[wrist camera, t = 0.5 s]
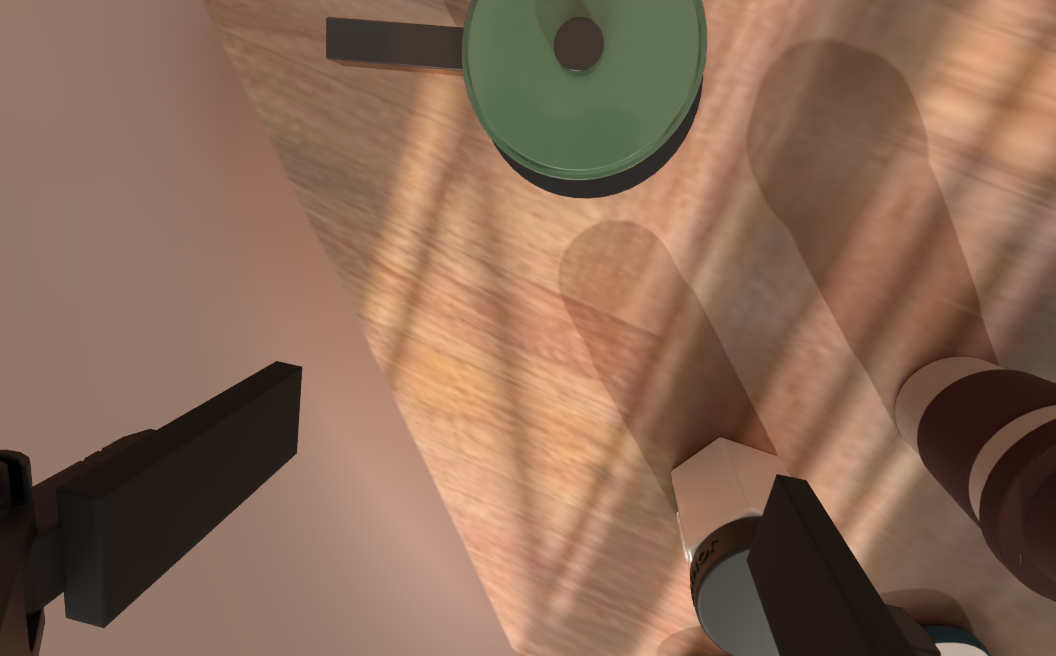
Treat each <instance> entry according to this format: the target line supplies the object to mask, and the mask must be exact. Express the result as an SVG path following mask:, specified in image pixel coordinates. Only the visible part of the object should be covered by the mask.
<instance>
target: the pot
mask: <svg viewBox="0 0 1056 656" xmlns="http://www.w3.org/2000/svg"><path fill="white" fill-rule="evenodd" d="M706 52H707V26H706V19H705V12H704V7H703V4H702V0H472V1H471V3H470V6H469V9H468V12H467V16H466V21H465V25H464V28H461V27H448V26H435V25H423V24H410V23H397V22H385V21H372V20H360V19H347V18H334V17H327V18H326V58H327V59H328V60H331V61H333V62H336V63H338V64H341V65H343V66H352V67H363V68H374V69H386V70H397V71H408V72H420V73H431V74H442V75H454V76H464V81H465V86H466V90H467V94H468V97H469V99H470V102H471V105H472V108H473V110H474V112H475V114H476V116H477V118H478V120H479V122H480V124H481V125H482V126H483V128H484V129H485V131H486V132H487V134H488V135H489V137H490V138H491V139H492V140H493V141H494V142H495V143H496V144H497V146H498V147H499V148H500V149H501V150H503V151H504V152H505V153H506V154H507V155H508V156H510V157H511V158H512V159H514V160H515V161H517V162H518V163H520V164H521V165H523V166H525V167H527V168H529V169H531V170H533V171H535V172H537V173H540V174H543V175H547V176H550V177H554V178H560V179H565V180H589V179H598V178H602V177H606V176H611V175H614V174H616V173H619V172H622V171H624V170H627V169H629V168H631V167H632V166H634V165H636V164H638V163H640V162H642V161H643V160H644V159H646V158H647V157H649V156H650V155H651V154H653V153H654V152H655V151H656V150H657V149H659V148H660V147H661V146H662V145H663V144H664V143H665V142H666V141H667V140H668V139H669V138H670V137H671V135H672V134H673V133H674V132H675V131H676V130H677V128H678V127H679V125H680V124H681V122H682V121H683V119H684V118H685V116H686V115H687V113H688V111H689V109H690V107H691V105H692V103H693V101H694V99H695V97H696V94H697V92H698V89H699V86H700V83H701V80H702V76H703V71H704V67H705V61H706Z"/></svg>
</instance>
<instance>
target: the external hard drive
mask: <svg viewBox="0 0 1056 656" xmlns="http://www.w3.org/2000/svg"><path fill="white" fill-rule="evenodd" d="M923 628H924V629H925V630H926V632H927V633H928V634H929V636H930V637H931V639H932V640H933V642H934V643H935V645H936V646H937V648H938V649H939V651H940V652H941V656H991V655H990V654H989V652H988V651H987V649H986V648H985V646H984V645H983V644H982V643H981V642H980V641H979V640H978V639H977V638H976V637H975V636H974V635H972V634H971V633H969V632H967V631H965V630H962V629H959V628H955V627H950V626H926V627H923Z"/></svg>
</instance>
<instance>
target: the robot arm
mask: <svg viewBox="0 0 1056 656" xmlns="http://www.w3.org/2000/svg"><path fill="white" fill-rule="evenodd" d="M301 380H302V367H301V366H296V365H292V364H287V363H283V362H278V361H276V362H274V363H272V364H271V365H269V366H267V367H266V368H264V369H262V370H260V371H259V372H257V373H255V374H254V375H252V376H250V377H248V378H246V379H245V380H243V381H241V382H239V383H238V384H236V385H234V386H233V387H231V388H229V389H228V390H226V391H224V392H222V393H220V394H219V395H217V396H215V397H213V398H212V399H210V400H209V401H207V402H205V403H203V404H201V405H200V406H198V407H196V408H194V409H193V410H191V411H189V412H187V413H186V414H184V415H182V416H180V417H179V418H177V419H175V420H174V421H172V422H170V423H168V424H167V425H165V426H163V427H161V428H160V429H158V430H153V429H148V430H144V431H141V432H138V433H135V434H131V435H128V436H125V437H122V438H121V439H119V440H117V441H115V442H113V443H111V444H110V445H108V446H106V447H104V448H102V451H101V452H100V451H97V452H95V453H93V454H91V455H90V456H88V457H86V458H85V459H84V461H79V462H77V463H75V464H73V465H71V466H70V467H68V468H66V469H64V470H62V471H61V472H59V473H57V474H55V475H53V476H52V477H50V478H48V479H46V480H44V481H42V482H41V483H39V484H37V485H35V486H33V487H32V476H31V465H30V460H29V457H28V456H26V455H24V454H23V453H21V452H16V451H10V450H0V656H39V651H40V646H41V640H42V636H43V630H44V625H45V616H44V606H45V605H47V604H48V603H49V602H51V601H52V600H54V599H55V598H56V597H57V596H58V595H60V594H61V593H63V592H64V600H65V611H66V618H69V619H72V620H76V621H80V622H83V623H87V624H91V625H94V626H98V627H102V628H105V627H106V626H107V625H108V624H109V623H110V622H111V621H112V620H114V619H115V618H116V617H117V616H118V615H119V614H120V613H121V612H122V611H124V610H125V609H126V608H127V607H128V606H129V605H130V604H131V603H132V602H133V601H135V599H137V598H138V597H139V596H140V595H141V594H142V593H143V592H144V591H145V590H146V589H148V588H149V587H150V586H151V585H152V584H153V583H154V582H156V581H157V580H158V579H159V578H160V577H161V576H162V575H163V574H164V573H165V572H167V571H168V570H169V569H170V568H171V567H172V566H173V565H174V564H175V563H176V562H177V561H179V560H180V559H181V558H182V557H183V556H184V555H185V554H186V553H187V552H188V551H190V550H191V549H192V548H193V547H194V546H195V545H196V544H197V543H198V542H200V541H201V540H202V539H203V538H204V537H205V536H206V535H207V534H208V533H209V532H211V531H212V530H213V529H214V528H215V527H216V526H217V525H218V524H219V523H220V522H222V521H223V520H224V519H225V518H226V517H227V516H228V515H229V514H230V513H232V512H233V511H234V510H235V509H236V508H237V507H238V506H239V505H240V504H241V503H243V502H244V501H245V500H246V499H247V498H248V497H249V496H250V495H251V494H252V493H253V492H255V491H256V490H257V489H258V488H259V487H260V486H261V485H262V484H263V483H265V482H266V481H267V480H268V479H269V478H270V477H271V476H272V475H273V474H274V473H275V472H277V471H278V470H279V469H280V468H281V467H282V466H283V465H284V464H285V463H287V462H288V461H289V460H290V459H291V458H292V457H293V456H294V455H295V454H297V443H298V426H299V410H300V395H301ZM746 561H747V564H748V567H749V570H750V573H751V575H752V578H753V581H754V584H755V587H756V590H757V593H758V596H759V598H760V601H761V604H762V607H763V610H764V613H765V616H766V618H767V621H768V624H769V627H770V630H771V633H772V636H773V639H774V641H775V644H776V647H777V650H778V653H779V656H941V652H940V651H939V649H938V648H937V646H936V645H935V643H934V642H933V640H932V639H931V637H930V636H929V634H928V633H927V632H926V630H925V629H924V628H923V627H922V626H921V625H920V624H918V623H917V622H916V621H915V620H914V619H913V618H912V617H911V616H910V615H909V614H908V613H907V612H906V611H904V610H903V609H902V608H900V607H896V606H891V605H887V604H884V602H883V601H882V599H881V597H880V596H879V594H878V593H877V591H876V590H875V588H874V586H873V585H872V583H871V582H870V580H869V579H868V577H867V575H866V574H865V572H864V571H863V569H862V567H861V566H860V564H859V563H858V561H857V560H856V558H855V556H854V555H853V553H852V552H851V550H850V548H849V547H848V545H847V544H846V542H845V541H844V539H843V537H842V536H841V534H840V533H839V531H838V529H837V528H836V526H835V525H834V523H833V522H832V520H831V518H830V517H829V515H828V514H827V512H826V510H825V509H824V507H823V506H822V504H821V503H820V501H819V499H818V498H817V496H816V495H815V493H814V491H813V490H812V488H811V487H810V485H809V484H808V482H807V480H802V479H798V478H793V477H789V476H784V475H780V474H776V477H775V480H774V483H773V486H772V489H771V491H770V494H769V497H768V500H767V503H766V506H765V509H764V512H763V514H762V517H761V520H760V523H759V526H758V529H757V532H756V534H755V537H754V540H753V543H752V546H751V549H750V552H749V555H748V557H747V560H746Z"/></svg>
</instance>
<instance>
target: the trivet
mask: <svg viewBox="0 0 1056 656" xmlns="http://www.w3.org/2000/svg"><path fill="white" fill-rule="evenodd" d="M702 82H703V76H702V80H701V83H700V86H699V89H698V92H697V94H696V97H695V99H694V101H693V103H692V105H691V107H690V109H689V111H688V113H687V115H686V116H685V118H684V119H683V121H682V122H681V124H680V125H679V127H678V128H677V130H676V131H675V132H674V133H673V134H672V135H671V137H670V138H669V139H668V140H667V141H666V142H665V143H664V144H663V145H662V146H661V147H660V148H659V149H657V150H656V151H655V152H654V153H653V154H651V155H650V156H649V157H647V158H646V159H644V160H643V161H642V162H640V163H638V164H636V165H634V166H632V167H631V168H629V169H627V170H624V171H622V172H619V173H616V174H614V175H611V176H606V177H602V178H598V179H589V180H565V179H560V178H554V177H550V176H547V175H543V174H540V173H537V172H535V171H533V170H531V169H529V168H527V167H525V166H523V165H521V164H520V163H518V162H517V161H515V160H514V159H512V158H511V157H510V156H508V155H507V154H506V153H505V152H504V151H503V150H501V149H500V148H499V147H498V146H497V144H496V143H495V142H494V141H493V140H492V141H493V143H494V144H495V146H496V148H497V149H498V151H499V152H500V154H501V155H502V157H503V158H504V159H505V160H506V161H507V163H508V164H509V165H510V166H511V167H512V168H513V169H514V170H515V171H516V172H517V173H519V174H520V175H521V176H522V177H523V178H525V179H526V180H528V181H529V182H531V183H532V184H534V185H535V186H538V187H540V188H542V189H544V190H546V191H548V192H551V193H554V194H558V195H561V196H566V197H572V198H598V197H605V196H609V195H614V194H617V193H620V192H623V191H625V190H628V189H630V188H632V187H634V186H636V185H638V184H640V183H642V182H643V181H645V180H646V179H648V178H649V177H651V176H652V175H653V174H655V173H656V172H657V171H658V170H659V169H660V168H662V167H663V166H664V165H665V164H666V163H667V162H668V161H669V159H670V158H671V157H672V156H673V155H674V154H675V153H676V151H677V150H678V148H679V147H680V145H681V144H682V142H683V141H684V139H685V138H686V136H687V134H688V132H689V130H690V128H691V126H692V123H693V121H694V118H695V115H696V113H697V110H698V106H699V101H700V97H701V91H702Z"/></svg>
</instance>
